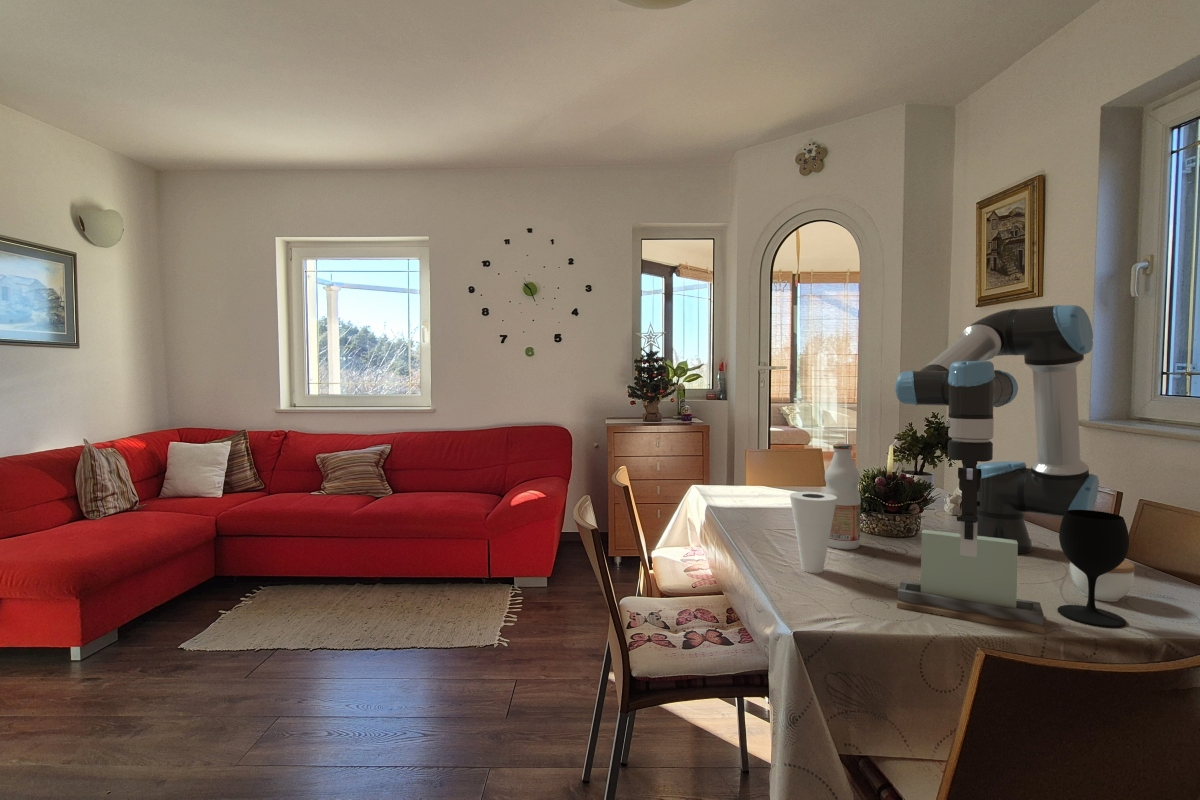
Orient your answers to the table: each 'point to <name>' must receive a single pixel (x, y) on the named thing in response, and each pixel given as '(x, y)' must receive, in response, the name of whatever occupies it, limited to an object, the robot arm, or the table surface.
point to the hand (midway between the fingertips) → (968, 546)
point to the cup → (813, 527)
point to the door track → (972, 609)
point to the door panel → (969, 569)
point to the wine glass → (1093, 558)
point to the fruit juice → (844, 498)
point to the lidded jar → (1106, 582)
